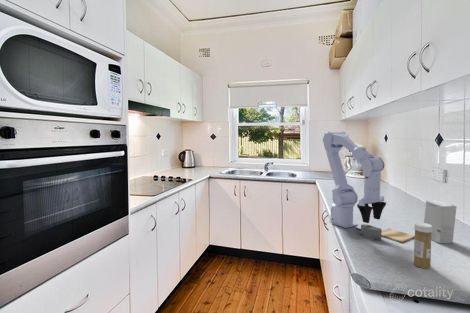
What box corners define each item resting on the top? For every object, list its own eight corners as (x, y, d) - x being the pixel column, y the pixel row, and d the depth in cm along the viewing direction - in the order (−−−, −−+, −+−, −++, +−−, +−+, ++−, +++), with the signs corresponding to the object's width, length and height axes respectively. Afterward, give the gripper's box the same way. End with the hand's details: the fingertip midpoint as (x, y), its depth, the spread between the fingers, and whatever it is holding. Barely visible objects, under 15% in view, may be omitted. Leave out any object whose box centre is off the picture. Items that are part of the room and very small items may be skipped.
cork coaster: (376, 234, 108) (376, 233, 108) (389, 229, 113) (389, 228, 113) (402, 243, 99) (402, 241, 99) (414, 237, 104) (414, 235, 104)
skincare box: (422, 235, 106) (423, 200, 105) (435, 235, 106) (437, 199, 105) (440, 244, 97) (442, 205, 96) (455, 243, 98) (457, 205, 97)
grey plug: (353, 233, 110) (353, 223, 110) (359, 231, 112) (359, 222, 112) (377, 241, 101) (378, 231, 101) (383, 239, 103) (383, 229, 103)
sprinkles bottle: (433, 269, 80) (435, 227, 78) (417, 268, 80) (419, 226, 79) (425, 262, 84) (427, 222, 83) (410, 261, 85) (411, 221, 84)
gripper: (371, 191, 97) (370, 227, 98) (392, 187, 104) (391, 219, 105) (354, 188, 103) (353, 221, 104) (374, 184, 110) (374, 215, 111)
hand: (371, 220), depth 105 cm, fingers open, 7 cm apart
